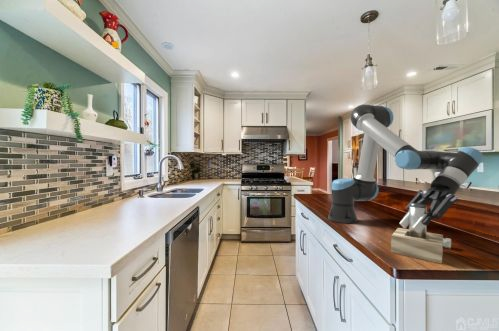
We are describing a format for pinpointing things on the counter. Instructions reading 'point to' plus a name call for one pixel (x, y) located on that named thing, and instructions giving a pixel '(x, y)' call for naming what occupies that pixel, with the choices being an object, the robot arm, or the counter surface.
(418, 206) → the capped cylinder
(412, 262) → the counter surface
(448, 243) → the pipe fitting
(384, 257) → the counter surface
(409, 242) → the socket block
